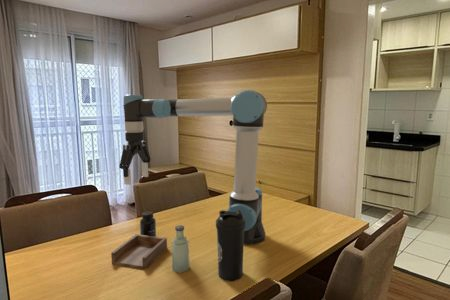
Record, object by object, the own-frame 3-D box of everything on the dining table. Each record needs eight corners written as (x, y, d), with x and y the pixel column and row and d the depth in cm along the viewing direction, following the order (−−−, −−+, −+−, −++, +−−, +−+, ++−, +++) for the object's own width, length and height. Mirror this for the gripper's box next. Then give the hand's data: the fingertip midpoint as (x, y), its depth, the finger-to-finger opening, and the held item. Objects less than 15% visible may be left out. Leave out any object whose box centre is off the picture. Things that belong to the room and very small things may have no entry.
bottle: (191, 264, 112) (190, 224, 110) (185, 273, 107) (184, 231, 104) (176, 262, 114) (175, 223, 112) (169, 270, 108) (168, 229, 106)
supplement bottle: (152, 242, 130) (151, 216, 129) (137, 241, 132) (136, 215, 130) (158, 235, 137) (157, 210, 135) (144, 234, 138) (143, 209, 137)
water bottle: (215, 267, 111) (214, 207, 107) (242, 265, 111) (243, 206, 108) (216, 283, 101) (216, 218, 97) (246, 281, 101) (247, 217, 98)
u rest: (167, 248, 125) (166, 238, 125) (145, 269, 109) (145, 257, 108) (136, 243, 129) (136, 234, 129) (111, 263, 113) (111, 252, 112)
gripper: (142, 129, 140) (144, 173, 143) (107, 134, 116) (111, 187, 119) (156, 129, 138) (158, 174, 141) (124, 134, 114) (127, 188, 117)
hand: (136, 180), depth 130 cm, fingers open, 13 cm apart
